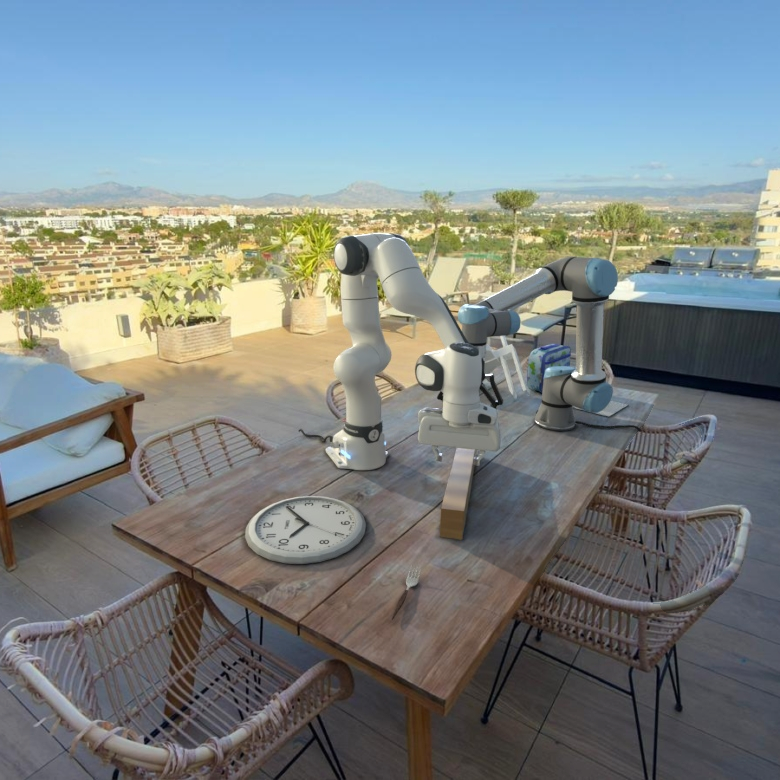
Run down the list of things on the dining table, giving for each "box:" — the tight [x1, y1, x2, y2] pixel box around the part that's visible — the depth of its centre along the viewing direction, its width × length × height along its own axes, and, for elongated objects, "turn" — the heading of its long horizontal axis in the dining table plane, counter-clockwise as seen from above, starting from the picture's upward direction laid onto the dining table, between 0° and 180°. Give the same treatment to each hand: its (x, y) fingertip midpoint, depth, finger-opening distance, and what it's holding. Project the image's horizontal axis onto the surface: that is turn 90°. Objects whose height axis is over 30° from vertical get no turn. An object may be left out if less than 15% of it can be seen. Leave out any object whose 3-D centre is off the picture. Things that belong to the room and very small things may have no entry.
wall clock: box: [244, 495, 367, 565], centre depth 132 cm, size 30×2×30 cm
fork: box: [391, 565, 422, 620], centre depth 108 cm, size 3×16×2 cm, turn 160°
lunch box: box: [526, 343, 572, 394], centre depth 248 cm, size 26×11×21 cm, turn 135°
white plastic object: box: [484, 335, 531, 400], centre depth 245 cm, size 37×45×31 cm
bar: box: [439, 448, 478, 541], centre depth 151 cm, size 51×6×8 cm, turn 167°
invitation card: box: [573, 400, 629, 418], centre depth 226 cm, size 21×1×15 cm
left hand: (457, 462), depth 131 cm, fingers open, 8 cm apart
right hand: (468, 423), depth 165 cm, fingers open, 13 cm apart
